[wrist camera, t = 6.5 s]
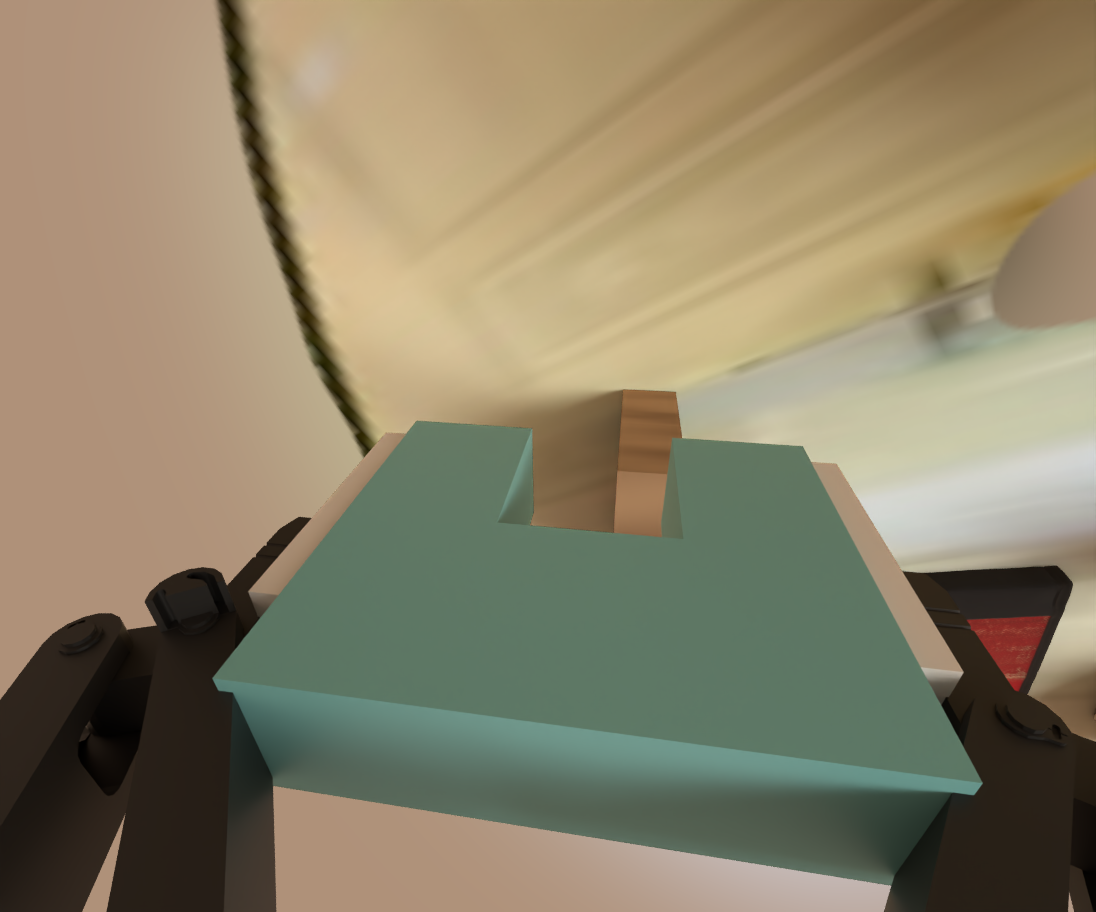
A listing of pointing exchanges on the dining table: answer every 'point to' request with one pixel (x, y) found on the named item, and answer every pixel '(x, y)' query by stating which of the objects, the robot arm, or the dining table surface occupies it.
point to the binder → (1011, 613)
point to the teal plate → (605, 663)
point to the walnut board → (644, 460)
